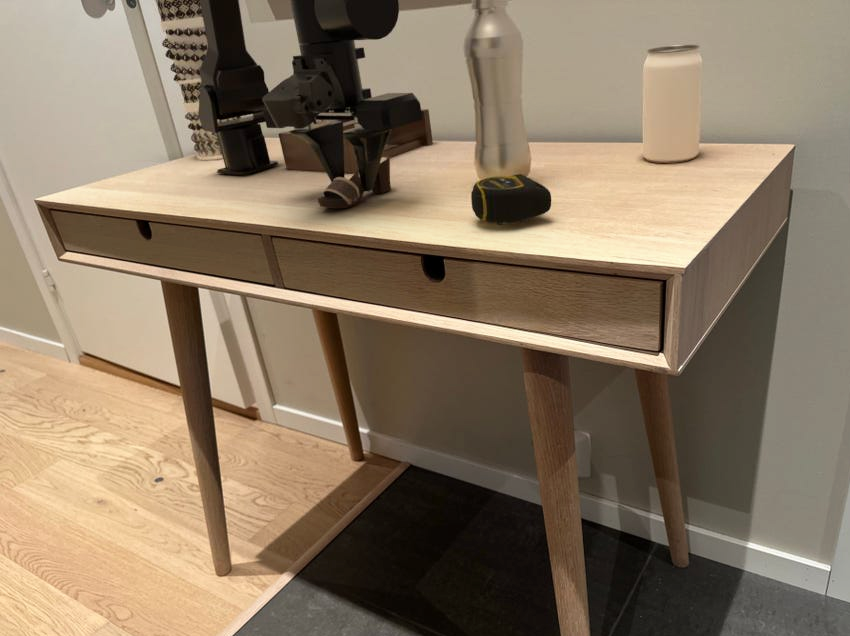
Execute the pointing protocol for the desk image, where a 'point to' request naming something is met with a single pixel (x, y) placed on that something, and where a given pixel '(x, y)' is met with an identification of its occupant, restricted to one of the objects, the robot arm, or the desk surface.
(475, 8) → the plastic bottle
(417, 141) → the shoe rack
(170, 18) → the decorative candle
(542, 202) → the tape measure
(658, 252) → the desk surface
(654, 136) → the can
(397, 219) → the desk surface
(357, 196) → the heeled mule
